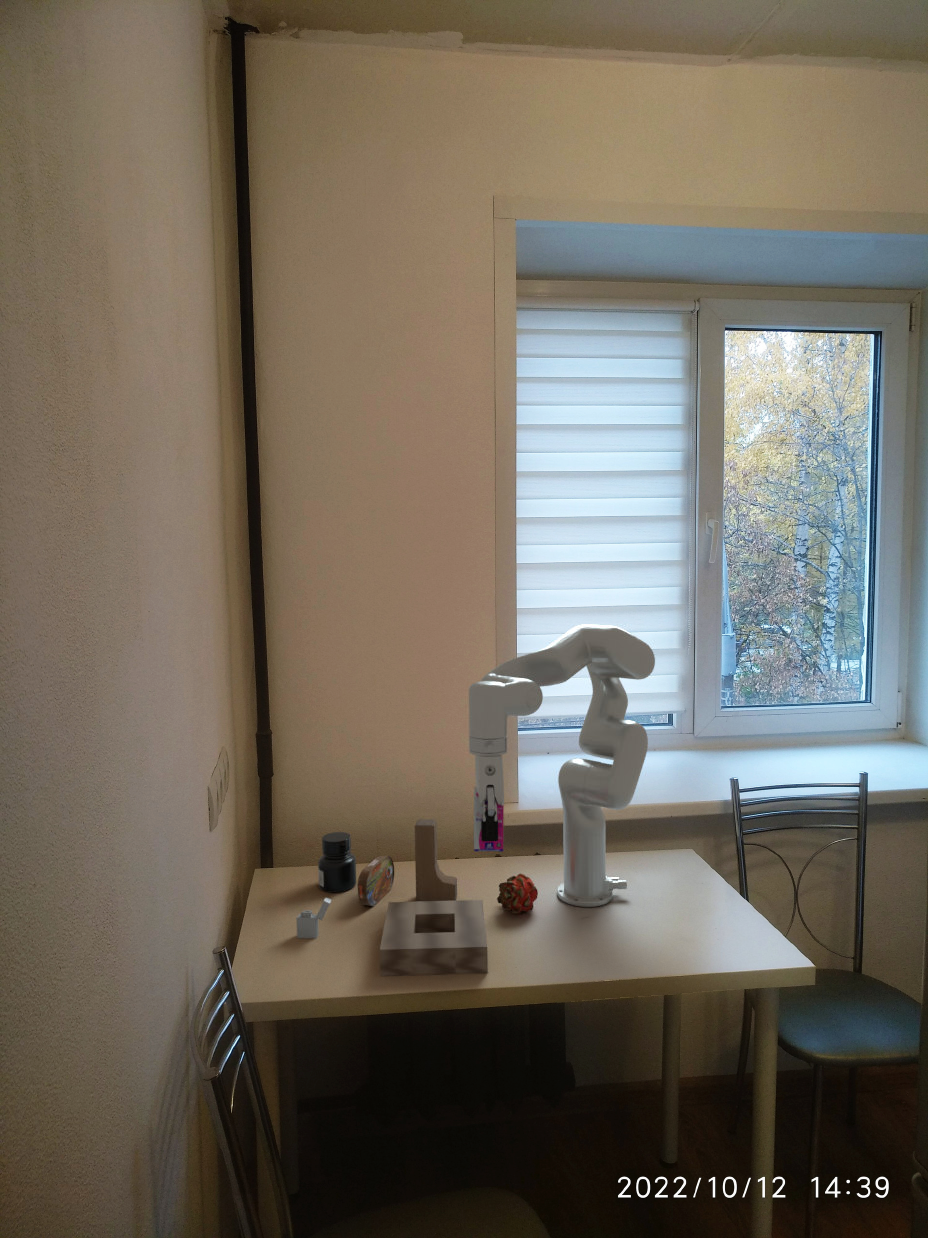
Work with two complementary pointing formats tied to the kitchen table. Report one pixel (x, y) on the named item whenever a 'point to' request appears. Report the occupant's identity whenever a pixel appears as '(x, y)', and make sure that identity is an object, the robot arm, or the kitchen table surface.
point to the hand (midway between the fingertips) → (488, 834)
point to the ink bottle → (337, 863)
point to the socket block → (434, 938)
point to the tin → (375, 880)
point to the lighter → (310, 921)
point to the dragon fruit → (517, 894)
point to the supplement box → (478, 816)
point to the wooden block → (430, 866)
